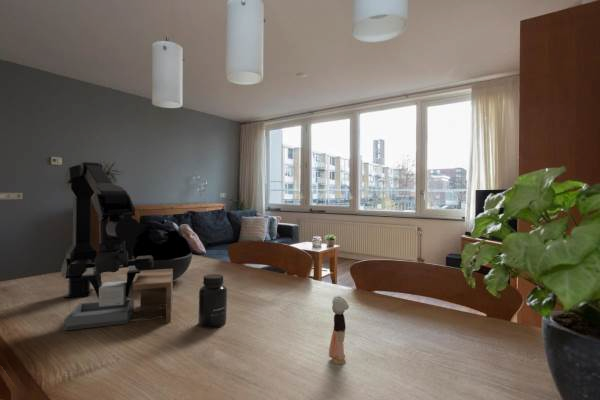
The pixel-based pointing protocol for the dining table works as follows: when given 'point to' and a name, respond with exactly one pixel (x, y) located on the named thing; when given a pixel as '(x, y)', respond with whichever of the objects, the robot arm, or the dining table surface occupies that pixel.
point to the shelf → (156, 289)
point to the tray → (98, 315)
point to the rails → (144, 318)
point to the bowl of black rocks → (165, 252)
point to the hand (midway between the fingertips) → (113, 298)
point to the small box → (112, 293)
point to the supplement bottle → (212, 302)
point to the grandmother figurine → (338, 330)
